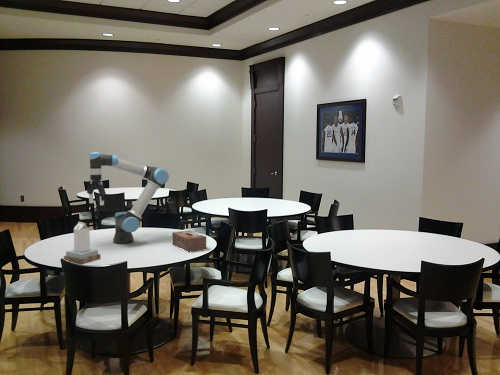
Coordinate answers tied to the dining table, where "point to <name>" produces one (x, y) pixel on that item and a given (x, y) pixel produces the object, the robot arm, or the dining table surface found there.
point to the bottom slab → (82, 261)
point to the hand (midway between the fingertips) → (96, 204)
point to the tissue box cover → (189, 240)
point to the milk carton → (81, 238)
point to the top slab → (81, 253)
